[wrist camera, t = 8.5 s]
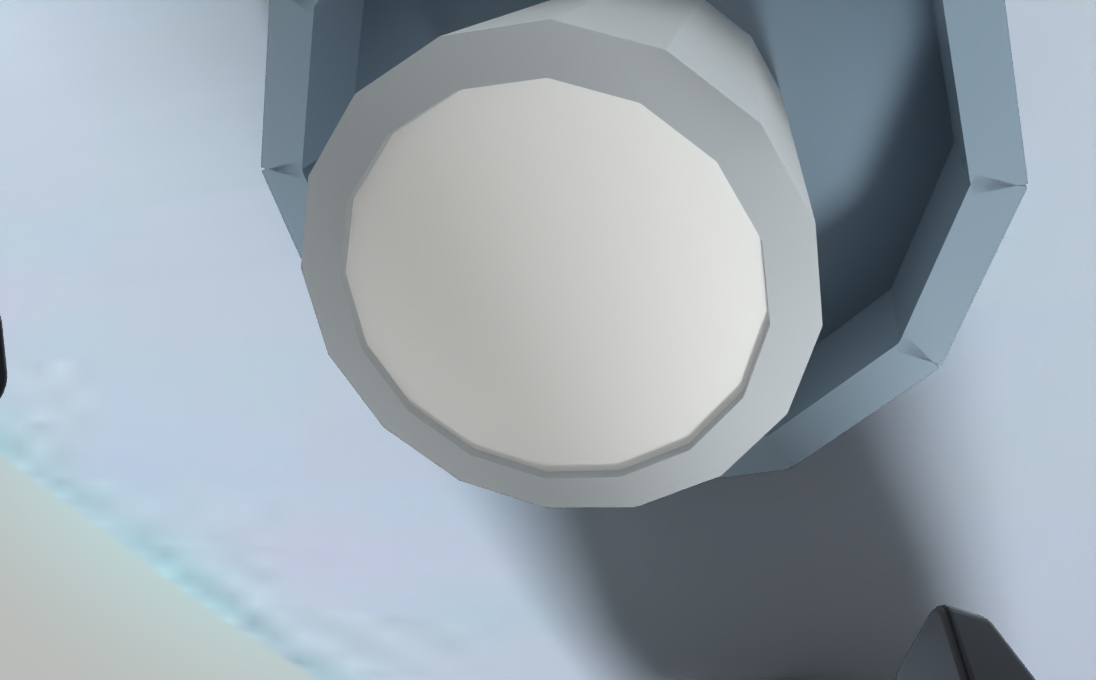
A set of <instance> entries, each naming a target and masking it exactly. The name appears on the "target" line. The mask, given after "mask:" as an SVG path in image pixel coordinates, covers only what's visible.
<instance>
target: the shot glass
mask: <svg viewBox="0 0 1096 680" xmlns="http://www.w3.org/2000/svg"><path fill="white" fill-rule="evenodd" d="M301 270H302V273H303V276H304V279H305V282H306V285H307V288H308V292H309V295H310V298H311V301H312V304H313V307H314V311H315V314H316V317H317V320H318V323H319V326H320V329H321V333H322V336H323V339H324V342H325V345H326V348H327V351H328V355H329V356H330V357H331V358H332V360H333V361H334V362H335V364H336V365H337V366H338V368H339V369H340V370H341V372H342V373H343V374H344V376H345V377H346V378H347V380H348V381H349V382H350V384H351V385H352V386H353V388H354V389H355V390H356V391H357V393H358V394H359V395H360V397H361V398H362V399H363V401H364V402H365V403H366V405H367V406H368V407H369V409H370V410H371V411H372V413H373V414H374V415H375V417H376V418H377V419H378V421H379V422H380V423H381V424H382V426H383V427H384V428H385V429H387V430H388V431H390V432H391V433H392V434H394V435H395V436H397V437H398V438H400V439H401V440H402V441H404V442H405V443H407V444H408V445H410V446H411V447H412V448H414V449H415V450H417V451H418V452H420V453H421V454H422V455H424V456H425V457H427V458H428V459H430V460H431V461H432V462H434V463H435V464H437V465H438V466H440V467H441V468H442V469H444V470H445V471H447V472H448V473H450V474H451V475H452V476H454V477H455V478H457V479H458V480H460V481H463V482H467V483H470V484H473V485H476V486H479V487H482V488H485V489H489V490H492V491H495V492H498V493H501V494H504V495H507V496H511V497H514V498H517V499H520V500H523V501H526V502H529V503H533V504H536V505H539V506H542V507H545V508H580V507H638V506H641V505H644V504H646V503H649V502H652V501H654V500H657V499H660V498H662V497H665V496H668V495H670V494H673V493H676V492H679V491H681V490H684V489H687V488H689V487H692V486H695V485H697V484H700V483H703V482H705V481H708V480H711V479H713V478H716V477H719V476H721V475H722V474H723V473H724V472H725V471H727V470H728V469H729V468H730V467H731V466H732V465H733V464H734V463H735V462H736V461H737V460H738V459H739V458H740V457H742V456H743V455H744V454H745V453H746V452H747V451H748V450H749V449H750V448H751V447H752V446H753V445H754V444H755V443H757V442H758V441H759V440H760V439H761V438H762V437H763V436H764V435H765V434H766V433H767V432H768V431H769V430H770V429H772V428H773V427H774V426H775V425H776V424H777V423H778V422H779V421H780V420H781V419H782V418H783V417H784V416H785V415H787V413H788V411H789V408H790V406H791V403H792V401H793V398H794V396H795V393H796V391H797V388H798V386H799V383H800V381H801V378H802V376H803V373H804V371H805V368H806V366H807V363H808V361H809V358H810V356H811V353H812V351H813V348H814V346H815V343H816V341H817V339H818V336H819V334H820V331H821V329H822V326H823V324H822V309H821V295H820V281H819V267H818V252H817V238H816V224H815V219H814V216H813V212H812V208H811V204H810V200H809V197H808V193H807V189H806V185H805V182H804V178H803V174H802V170H801V167H800V163H799V159H798V155H797V151H796V148H795V144H794V140H793V136H792V133H791V129H790V125H789V121H788V118H787V114H786V110H785V106H784V102H783V99H782V95H781V91H780V89H779V87H778V85H777V83H776V82H775V80H774V78H773V76H772V74H771V72H770V70H769V69H768V67H767V65H766V63H765V61H764V59H763V57H762V56H761V54H760V52H759V50H758V48H757V46H756V44H755V43H754V41H753V39H752V37H751V36H750V35H749V34H748V33H747V32H745V31H744V30H743V29H742V28H740V27H739V26H738V25H736V24H735V23H734V22H733V21H731V20H730V19H729V18H728V17H726V16H725V15H724V14H722V13H721V12H720V11H719V10H717V9H716V8H715V7H714V6H712V5H711V4H710V3H708V2H707V1H706V0H549V1H546V2H543V3H540V4H537V5H534V6H531V7H528V8H525V9H522V10H519V11H516V12H513V13H510V14H507V15H503V16H500V17H497V18H494V19H491V20H488V21H485V22H482V23H479V24H476V25H473V26H470V27H467V28H464V29H461V30H458V31H455V32H451V33H448V34H445V35H442V36H439V37H438V38H436V39H435V40H433V41H432V42H431V43H429V44H428V45H426V46H425V47H423V48H422V49H420V50H419V51H417V52H416V53H414V54H413V55H411V56H410V57H409V58H407V59H406V60H404V61H403V62H401V63H400V64H398V65H397V66H395V67H394V68H392V69H391V70H389V71H388V72H386V73H385V74H384V75H382V76H381V77H379V78H378V79H376V80H375V81H373V82H372V83H370V84H369V85H367V86H366V87H364V88H363V89H362V90H360V91H359V92H357V93H356V94H355V95H354V97H353V98H352V100H351V102H350V104H349V105H348V107H347V109H346V111H345V112H344V114H343V116H342V118H341V119H340V121H339V123H338V125H337V127H336V128H335V130H334V132H333V134H332V135H331V137H330V139H329V141H328V142H327V144H326V146H325V148H324V149H323V151H322V153H321V155H320V157H319V158H318V160H317V162H316V164H315V165H314V167H313V169H312V171H311V172H310V174H309V176H308V186H307V198H306V210H305V223H304V235H303V248H302V260H301Z"/></svg>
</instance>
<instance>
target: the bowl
mask: <svg viewBox="0 0 1096 680" xmlns="http://www.w3.org/2000/svg"><path fill="white" fill-rule="evenodd" d="M546 1H549V0H270V3H269V22H268V41H267V60H266V79H265V98H264V118H263V137H262V156H261V167H262V168H265V169H264V170H262V173H263V175H264V177H265V179H266V182H267V184H268V186H269V188H270V191H271V193H272V195H273V197H274V200H275V202H276V204H277V206H278V209H279V211H280V213H281V215H282V217H283V220H284V222H285V224H286V226H287V229H288V231H289V233H290V235H291V238H292V240H293V242H294V244H295V246H296V249H297V251H298V253H299V255H300V258H301V260H302V248H303V235H304V223H305V210H306V198H307V186H308V176H309V174H310V172H311V171H312V169H313V167H314V165H315V164H316V162H317V160H318V158H319V157H320V155H321V153H322V151H323V149H324V148H325V146H326V144H327V142H328V141H329V139H330V137H331V135H332V134H333V132H334V130H335V128H336V127H337V125H338V123H339V121H340V119H341V118H342V116H343V114H344V112H345V111H346V109H347V107H348V105H349V104H350V102H351V100H352V98H353V97H354V95H355V94H356V93H357V92H359V91H360V90H362V89H363V88H364V87H366V86H367V85H369V84H370V83H372V82H373V81H375V80H376V79H378V78H379V77H381V76H382V75H384V74H385V73H386V72H388V71H389V70H391V69H392V68H394V67H395V66H397V65H398V64H400V63H401V62H403V61H404V60H406V59H407V58H409V57H410V56H411V55H413V54H414V53H416V52H417V51H419V50H420V49H422V48H423V47H425V46H426V45H428V44H429V43H431V42H432V41H433V40H435V39H436V38H438V37H439V36H442V35H445V34H448V33H451V32H455V31H458V30H461V29H464V28H467V27H470V26H473V25H476V24H479V23H482V22H485V21H488V20H491V19H494V18H497V17H500V16H503V15H507V14H510V13H513V12H516V11H519V10H522V9H525V8H528V7H531V6H534V5H537V4H540V3H543V2H546ZM706 1H707V2H708V3H710V4H711V5H712V6H714V7H715V8H716V9H717V10H719V11H720V12H721V13H722V14H724V15H725V16H726V17H728V18H729V19H730V20H731V21H733V22H734V23H735V24H736V25H738V26H739V27H740V28H742V29H743V30H744V31H745V32H747V33H748V34H749V35H750V36H751V37H752V39H753V41H754V43H755V44H756V46H757V48H758V50H759V52H760V54H761V56H762V57H763V59H764V61H765V63H766V65H767V67H768V69H769V70H770V72H771V74H772V76H773V78H774V80H775V82H776V83H777V85H778V87H779V89H780V91H781V95H782V99H783V102H784V106H785V110H786V114H787V118H788V121H789V125H790V129H791V133H792V136H793V140H794V144H795V148H796V151H797V155H798V159H799V163H800V167H801V170H802V174H803V178H804V182H805V185H806V189H807V193H808V197H809V200H810V204H811V208H812V212H813V216H814V219H815V224H816V238H817V252H818V267H819V281H820V295H821V309H822V324H823V326H822V329H821V331H820V334H819V336H818V339H817V341H816V343H815V346H814V348H813V351H812V353H811V356H810V358H809V361H808V363H807V366H806V368H805V371H804V373H803V376H802V378H801V381H800V383H799V386H798V388H797V391H796V393H795V396H794V398H793V401H792V403H791V406H790V408H789V411H788V413H787V415H785V416H784V417H783V418H782V419H781V420H780V421H779V422H778V423H777V424H776V425H775V426H774V427H773V428H772V429H770V430H769V431H768V432H767V433H766V434H765V435H764V436H763V437H762V438H761V439H760V440H759V441H758V442H757V443H755V444H754V445H753V446H752V447H751V448H750V449H749V450H748V451H747V452H746V453H745V454H744V455H743V456H742V457H740V458H739V459H738V460H737V461H736V462H735V463H734V464H733V465H732V466H731V467H730V468H729V469H728V470H727V471H725V472H724V473H723V474H722V475H721V476H719V477H716V478H723V477H731V476H739V475H747V474H755V473H763V472H771V471H779V470H787V466H789V467H790V468H792V467H793V466H795V465H796V464H798V463H799V462H801V461H802V460H804V459H805V458H807V457H808V456H810V455H811V454H813V453H814V452H816V451H817V450H819V449H820V448H822V447H823V446H825V445H826V444H827V443H829V442H830V441H832V440H833V439H835V438H836V437H838V436H839V435H841V434H842V433H844V432H845V431H847V430H848V429H850V428H851V427H853V426H854V425H856V424H857V423H859V422H860V421H862V420H863V419H864V418H866V417H867V416H869V415H870V414H872V413H873V412H875V411H876V410H878V409H879V408H881V407H882V406H884V405H885V404H887V403H888V402H890V401H891V400H893V399H894V398H896V397H897V396H899V395H900V394H901V393H903V392H904V391H906V390H907V389H909V388H910V387H912V386H913V385H915V384H916V383H918V382H919V381H921V380H922V379H924V378H925V377H927V376H928V375H930V374H931V373H933V372H934V371H935V370H937V369H938V368H939V366H938V364H940V365H942V363H943V361H944V359H945V357H946V355H947V353H948V351H949V349H950V347H951V345H952V343H953V341H954V338H955V336H956V334H957V332H958V330H959V328H960V326H961V324H962V322H963V320H964V318H965V316H966V314H967V312H968V309H969V307H970V305H971V303H972V301H973V299H974V297H975V295H976V293H977V291H978V289H979V287H980V285H981V283H982V280H983V278H984V276H985V274H986V272H987V270H988V268H989V266H990V264H991V262H992V260H993V258H994V256H995V254H996V251H997V249H998V247H999V245H1000V243H1001V241H1002V239H1003V237H1004V235H1005V233H1006V231H1007V229H1008V227H1009V225H1010V222H1011V220H1012V218H1013V216H1014V214H1015V212H1016V210H1017V208H1018V206H1019V204H1020V202H1021V200H1022V198H1023V196H1024V194H1025V191H1026V189H1027V187H1026V185H1025V184H1028V180H1027V172H1026V164H1025V156H1024V148H1023V140H1022V132H1021V125H1020V117H1019V109H1018V101H1017V93H1016V85H1015V77H1014V69H1013V62H1012V54H1011V46H1010V38H1009V30H1008V22H1007V14H1006V6H1005V0H706ZM713 479H715V478H713Z"/></svg>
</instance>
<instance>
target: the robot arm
mask: <svg viewBox="0 0 1096 680" xmlns="http://www.w3.org/2000/svg"><path fill="white" fill-rule="evenodd" d="M6 382H7V367H6V357H5V347H4V338H3V328H2V320H1V316H0V398H1V396H2V394H3V393H4V390H5V387H6ZM896 680H1035V678H1034V677H1033V676H1032V674H1031V673H1030V672H1029V671H1028V669H1027V668H1026V667H1025V665H1024V664H1023V663H1022V662H1021V660H1020V659H1019V658H1018V656H1017V655H1016V654H1015V653H1014V651H1013V650H1012V649H1011V647H1010V646H1009V645H1008V643H1007V642H1006V641H1005V640H1004V638H1003V637H1002V636H1001V634H1000V633H999V632H998V631H997V629H996V628H995V627H994V625H993V624H992V623H991V622H990V621H989V620H987V619H986V618H984V617H982V616H980V615H977V614H974V613H970V612H967V611H964V610H961V609H958V608H954V607H951V606H948V605H942V606H938V607H936V608H935V609H934V610H933V611H932V612H931V613H930V615H929V616H928V618H927V620H926V621H925V623H924V625H923V627H922V629H921V630H920V632H919V634H918V636H917V637H916V639H915V641H914V643H913V644H912V646H911V648H910V650H909V652H908V653H907V655H906V657H905V659H904V660H903V662H902V664H901V666H900V668H899V671H898V674H897V677H896Z"/></svg>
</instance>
